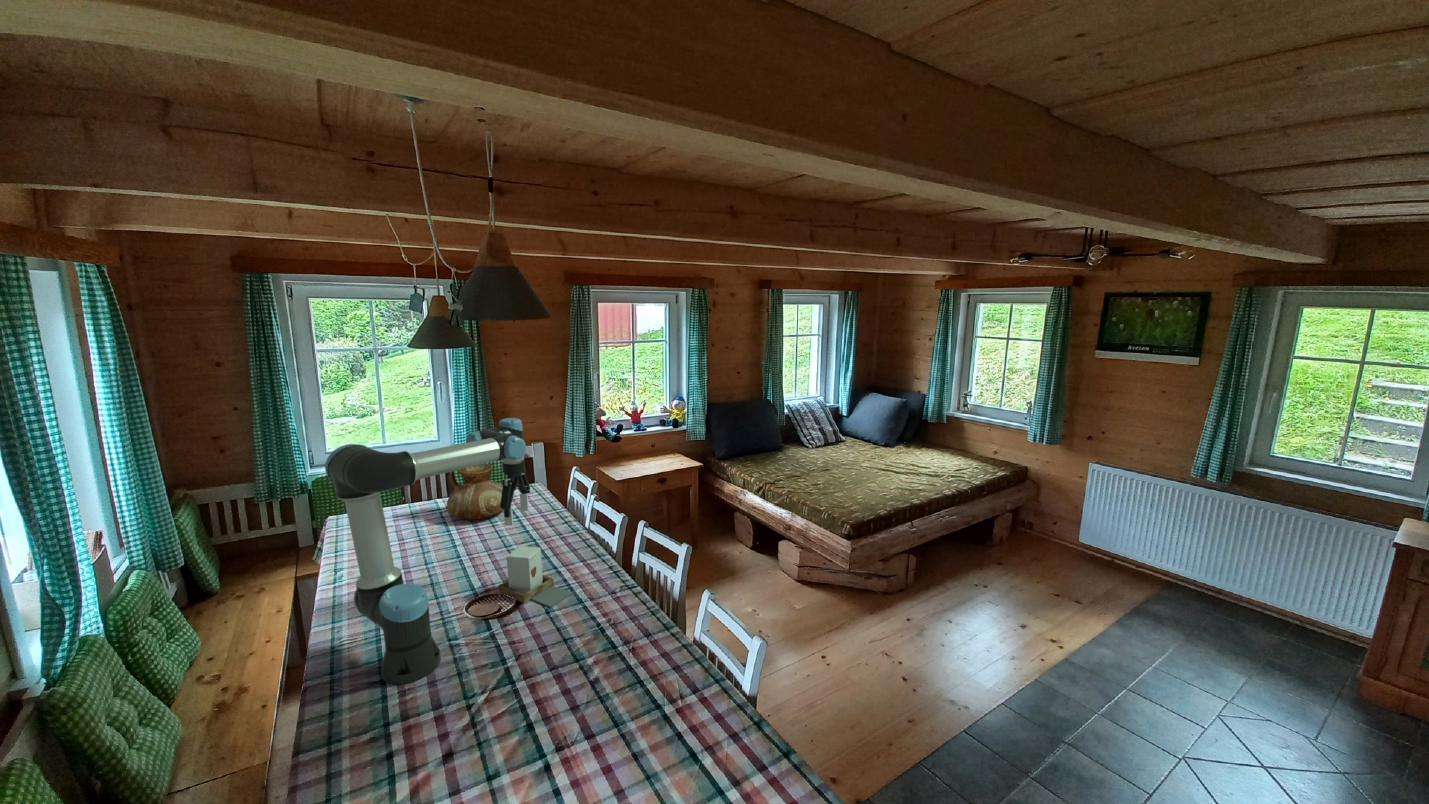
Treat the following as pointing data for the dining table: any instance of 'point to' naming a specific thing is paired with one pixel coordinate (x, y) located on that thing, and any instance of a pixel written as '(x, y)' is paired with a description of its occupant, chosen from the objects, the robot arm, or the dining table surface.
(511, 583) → the supplement box
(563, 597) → the coaster
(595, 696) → the dining table surface
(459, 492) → the jug
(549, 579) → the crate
